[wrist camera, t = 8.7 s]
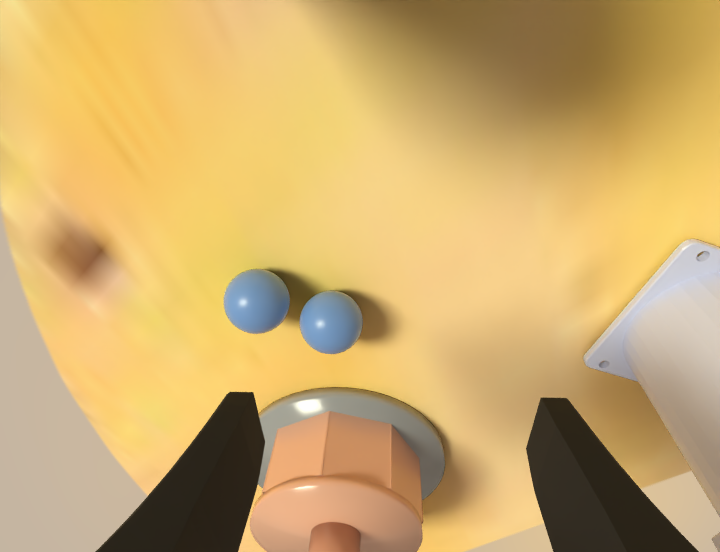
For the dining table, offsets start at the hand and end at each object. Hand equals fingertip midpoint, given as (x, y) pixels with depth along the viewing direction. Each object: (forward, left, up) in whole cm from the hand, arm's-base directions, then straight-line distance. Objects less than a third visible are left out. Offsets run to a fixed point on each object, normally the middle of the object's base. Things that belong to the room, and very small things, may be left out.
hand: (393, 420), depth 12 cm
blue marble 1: (+5, +5, -10) cm, 12 cm away
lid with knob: (-3, +17, -10) cm, 19 cm away
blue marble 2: (+1, +5, -10) cm, 12 cm away
